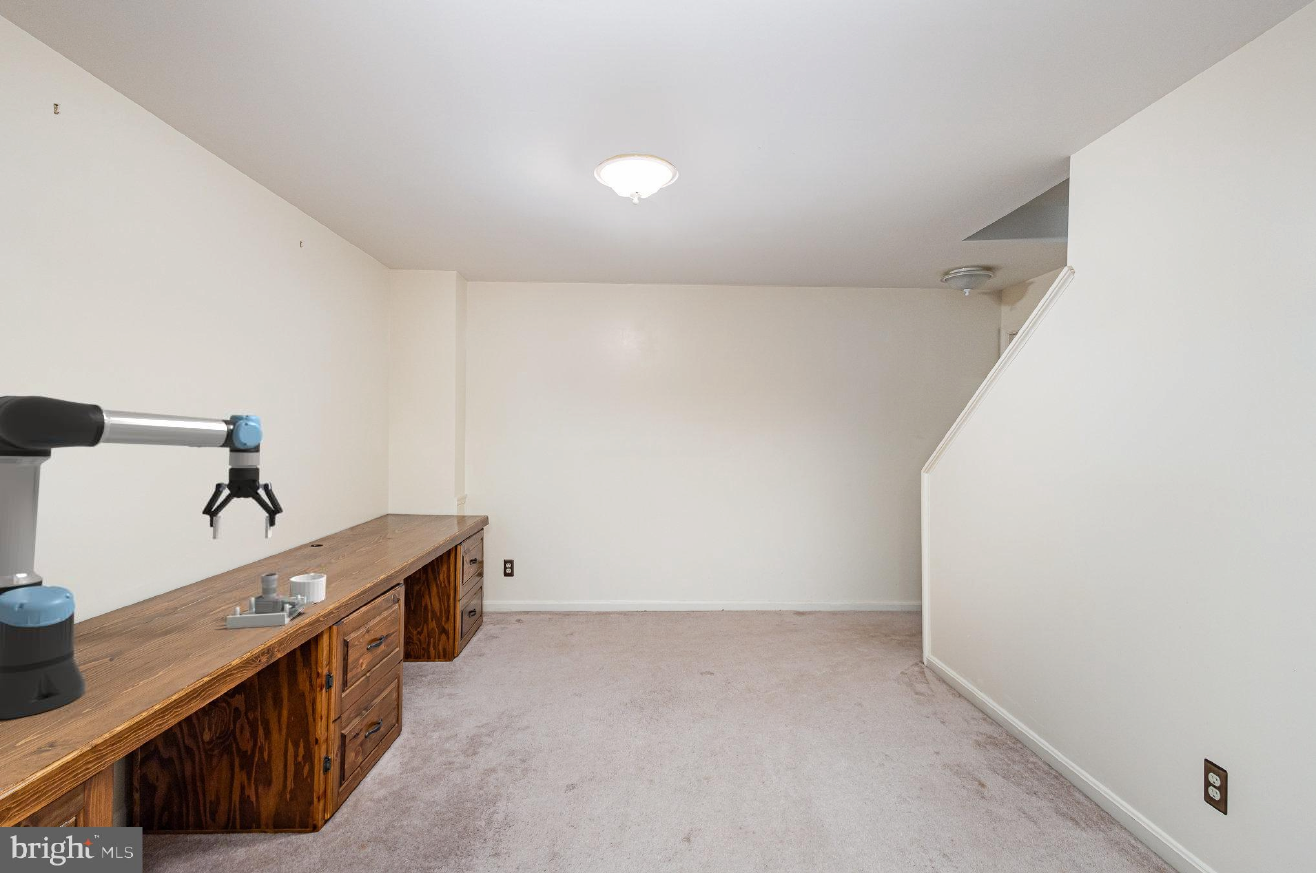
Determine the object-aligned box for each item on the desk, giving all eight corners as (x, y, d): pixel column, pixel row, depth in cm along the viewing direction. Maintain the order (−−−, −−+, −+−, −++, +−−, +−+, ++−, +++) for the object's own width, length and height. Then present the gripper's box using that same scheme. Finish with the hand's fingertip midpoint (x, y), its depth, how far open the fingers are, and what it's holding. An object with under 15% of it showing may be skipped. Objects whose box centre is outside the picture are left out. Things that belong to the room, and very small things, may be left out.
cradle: (285, 625, 173) (285, 608, 173) (226, 628, 170) (226, 611, 170) (305, 607, 191) (305, 591, 191) (253, 609, 187) (253, 594, 187)
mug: (323, 604, 194) (323, 580, 194) (286, 607, 190) (286, 582, 190) (329, 593, 206) (329, 570, 206) (294, 596, 203) (295, 573, 202)
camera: (268, 570, 186) (315, 572, 186) (267, 607, 186) (314, 609, 186) (249, 577, 177) (298, 579, 177) (248, 616, 178) (297, 618, 177)
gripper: (295, 466, 182) (294, 535, 182) (202, 465, 176) (201, 536, 176) (286, 467, 175) (284, 539, 175) (189, 467, 169) (187, 540, 169)
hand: (242, 538), depth 175 cm, fingers open, 13 cm apart
